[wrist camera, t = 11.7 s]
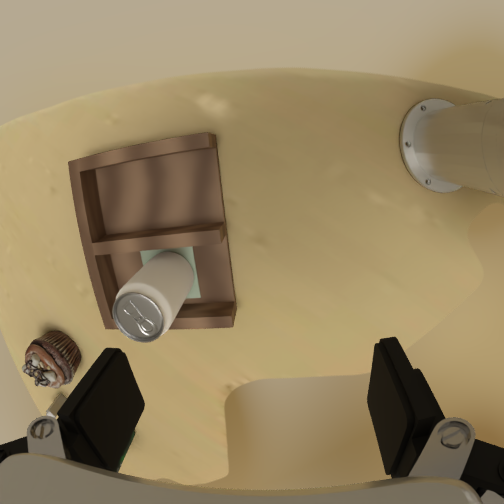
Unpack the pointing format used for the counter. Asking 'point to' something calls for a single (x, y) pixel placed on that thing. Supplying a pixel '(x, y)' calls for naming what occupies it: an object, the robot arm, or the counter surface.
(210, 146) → the tray
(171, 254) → the can
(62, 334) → the cupcake
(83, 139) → the counter surface
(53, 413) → the lighter
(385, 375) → the robot arm
